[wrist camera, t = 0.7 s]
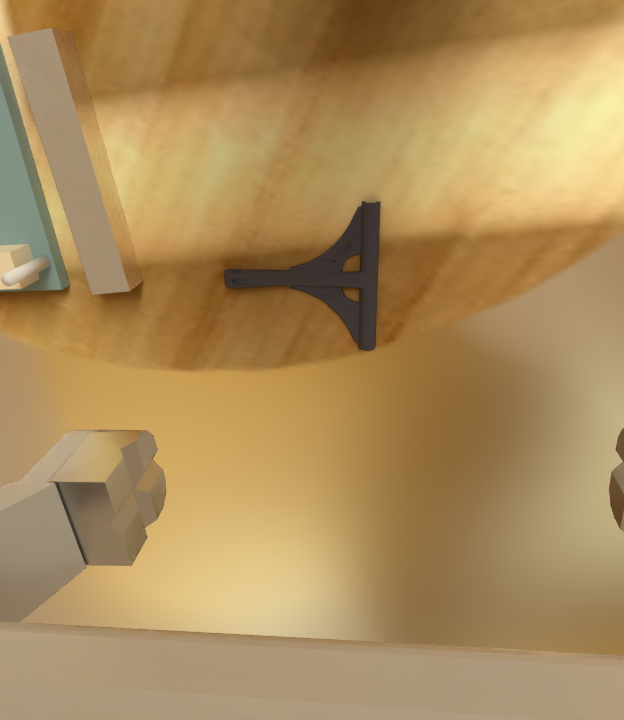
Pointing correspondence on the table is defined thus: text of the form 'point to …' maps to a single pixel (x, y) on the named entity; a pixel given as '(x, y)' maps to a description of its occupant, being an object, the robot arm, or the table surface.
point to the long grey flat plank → (77, 157)
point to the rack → (23, 208)
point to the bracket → (334, 275)
